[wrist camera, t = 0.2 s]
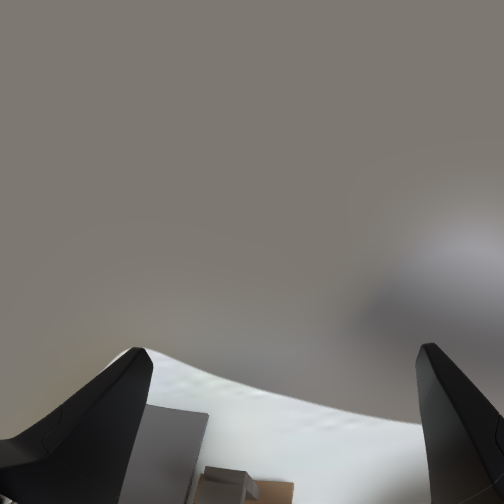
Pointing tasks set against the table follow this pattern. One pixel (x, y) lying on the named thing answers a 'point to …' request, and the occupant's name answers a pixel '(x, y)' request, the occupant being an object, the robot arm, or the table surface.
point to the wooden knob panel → (239, 489)
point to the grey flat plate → (163, 456)
